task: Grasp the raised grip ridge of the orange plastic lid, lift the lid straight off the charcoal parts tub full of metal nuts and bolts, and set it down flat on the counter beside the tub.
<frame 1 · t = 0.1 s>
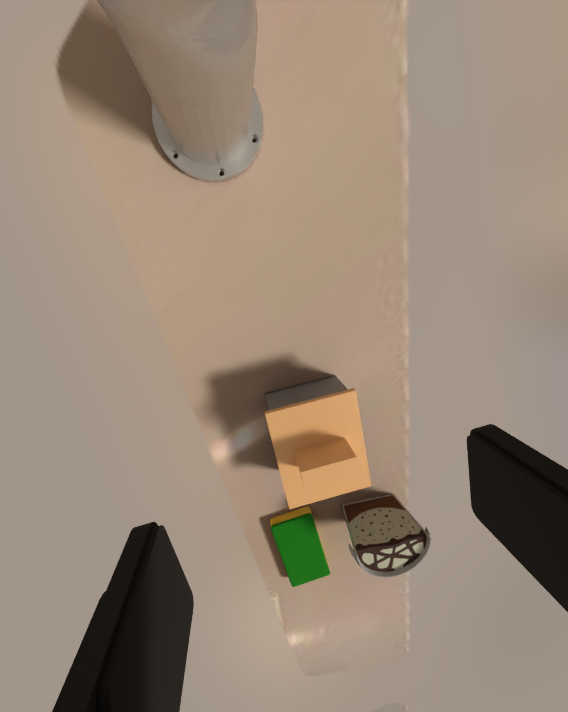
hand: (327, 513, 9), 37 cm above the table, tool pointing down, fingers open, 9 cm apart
tub: (309, 424, 50), on the table
lid: (319, 449, 43), point 7 cm above the table, touching tub
food container: (367, 512, 56), on the table
dish sponge: (299, 539, 56), on the table
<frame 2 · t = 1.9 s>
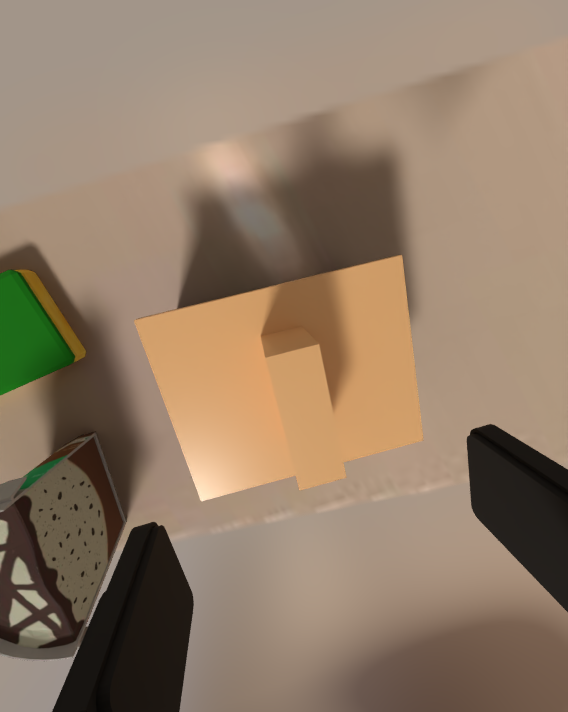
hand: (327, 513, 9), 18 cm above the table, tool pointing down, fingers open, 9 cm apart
lid: (292, 382, 20), point 7 cm above the table, touching tub
food container: (76, 484, 28), on the table
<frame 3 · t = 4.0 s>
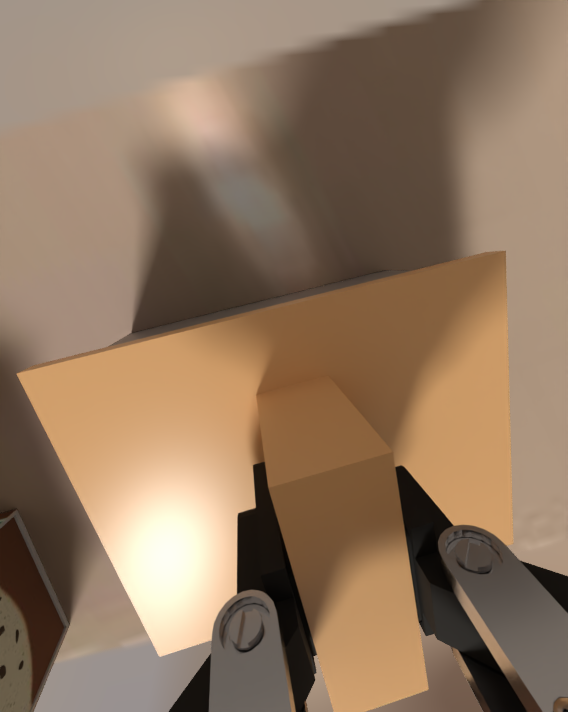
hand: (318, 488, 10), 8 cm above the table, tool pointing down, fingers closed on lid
tub: (284, 393, 19), on the table
lid: (309, 462, 12), point 7 cm above the table, touching gripper
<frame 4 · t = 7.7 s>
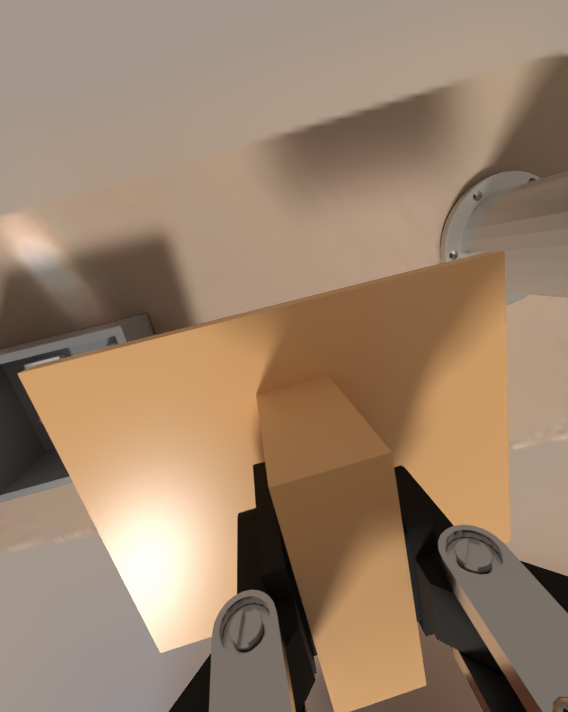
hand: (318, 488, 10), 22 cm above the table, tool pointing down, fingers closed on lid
tub: (95, 386, 30), on the table
lid: (308, 461, 12), point 20 cm above the table, touching gripper
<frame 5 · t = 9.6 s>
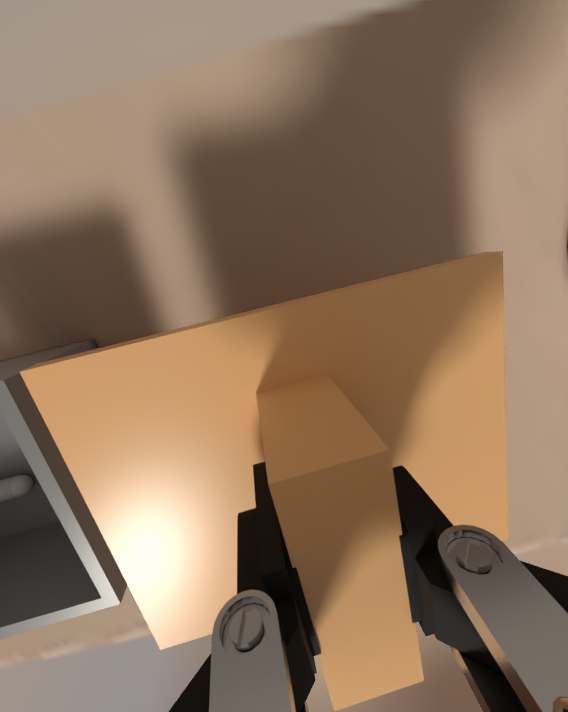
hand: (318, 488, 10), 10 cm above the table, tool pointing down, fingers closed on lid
tub: (13, 454, 19), on the table
lid: (308, 459, 12), point 8 cm above the table, touching gripper
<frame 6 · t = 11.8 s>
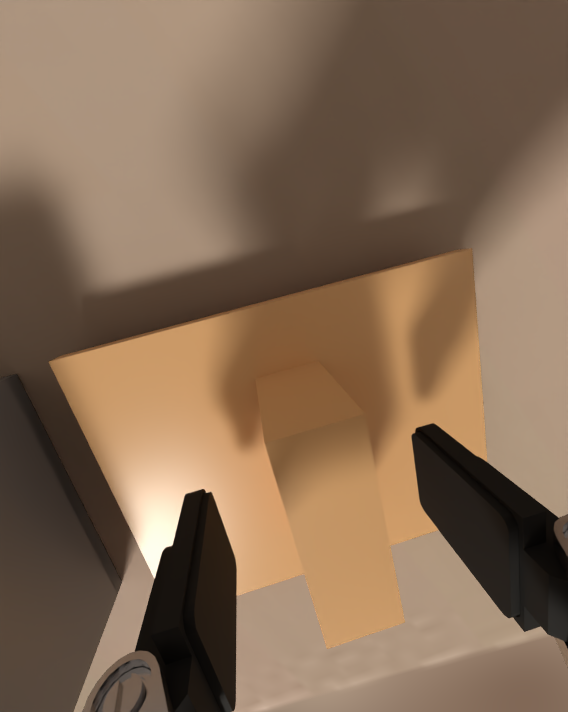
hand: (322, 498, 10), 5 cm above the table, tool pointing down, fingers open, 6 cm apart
lid: (304, 440, 13), point 1 cm above the table
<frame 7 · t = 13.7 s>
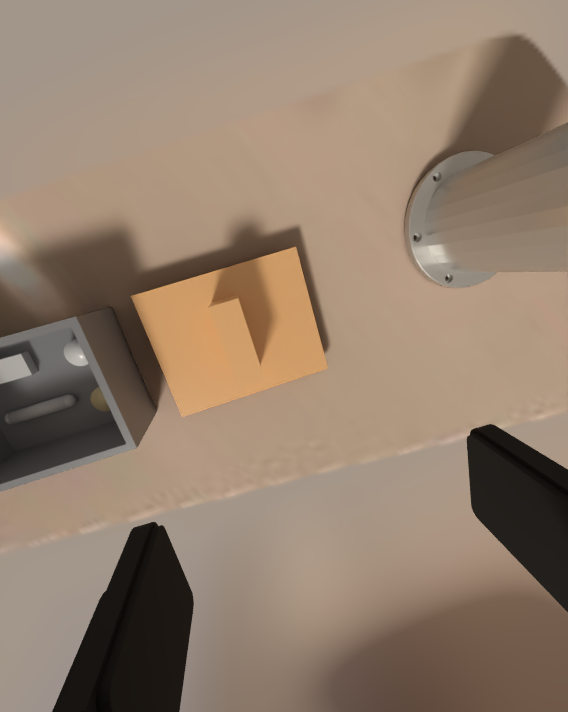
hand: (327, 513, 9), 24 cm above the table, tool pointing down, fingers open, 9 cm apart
tub: (62, 383, 30), on the table
lid: (236, 333, 30), point 1 cm above the table
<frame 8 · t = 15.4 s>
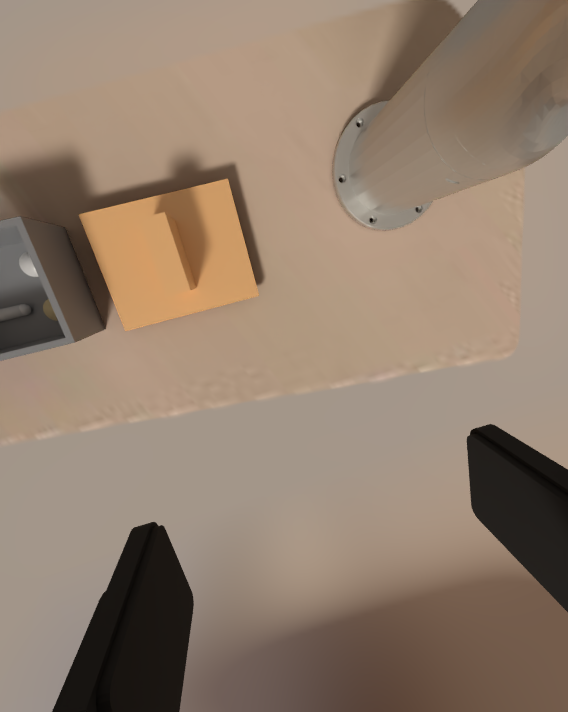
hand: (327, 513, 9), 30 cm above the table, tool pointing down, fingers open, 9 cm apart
tub: (20, 295, 34), on the table
lid: (176, 258, 34), point 1 cm above the table
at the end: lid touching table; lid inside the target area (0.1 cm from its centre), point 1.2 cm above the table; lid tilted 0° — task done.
